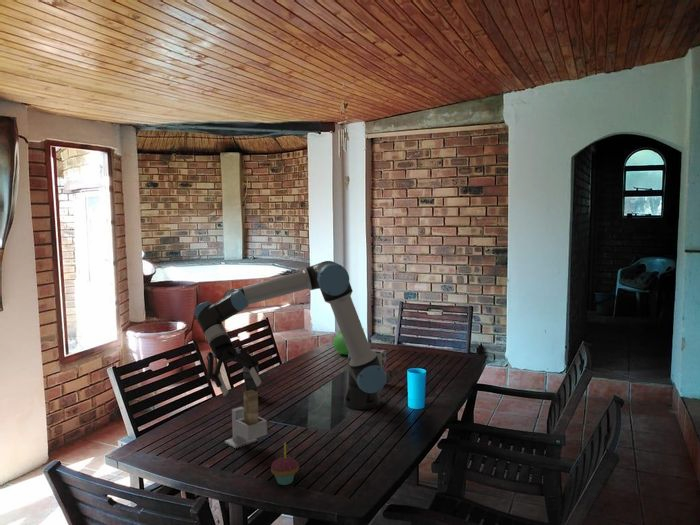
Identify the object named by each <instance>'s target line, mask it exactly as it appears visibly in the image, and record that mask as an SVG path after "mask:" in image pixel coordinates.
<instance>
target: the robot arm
mask: <svg viewBox="0 0 700 525" xmlns="http://www.w3.org/2000/svg"><path fill="white" fill-rule="evenodd" d="M318 289H319V290H320V292H321V295H322V297H323V300H324V303H327V304H329V305H330V307H331V310H332V312H333V315H334V317H335V321H336V323H337V325H338V328H339V330H340V331H341V333H342V336H343V339H344V341H345V344H346V346H347V349H348V352H349V354H348V355H347V362H348V363H347V366H348V367H347V371H348V374H347V376H348V386H347V388H346V392H345V395H344V399H343V400H344V406H345V407H347V408H350V409H353V410H361V411H362V410H371V408H372V409H375V408H377V407H379V406H380V403H381V402H380V401H381V400H380V398H381V397H380V395H379V393H378V392H379V391H381V390H382V389H383V388H384V387H385V386H386V384H387V382H386V381H387V372H386V373H385V370H384V369H383V368H382V367H381V364H380V362H379V359H378V356H377V354H376V352H375V351H373V350H371V349H372V348H371V346H370V344H369V341H368V339H367V336H366V333H365V331H364V330H365V329H364V328H363V325H362V323H361V320H360V318H359V314H358V313H357V310H356V306H355V304H354V302H353V299H352V293H353V292H354V291H353V288H352V286H351V283H350V275H349V273H348V271H347V269H346V268H345V267H344V266H342V265H341V264H339V263H337V262H335V261H333V260H325V261H321V262H319V263H317V264H314V265H310V266H307V267H304V269H303V270H301V271H298V272H294V273H290V274H286V275H282V276H279V277H275V278H272V279H267V280H265V281H261V282H256V283H252V284H250V285H245V286H242V287H238V288H229V289H227V290H226V291H225V292H224V294H223V296H222V298H221V299H219V300H218V301H217V302H215V303H212V302H211V301H204V302H201V303H199V304H197V305H196V307H195V308H194V311H193V312H194V315H195V317H196V321H197V323H198V325H199V327H200V329H201V332H202V333H203V336H204V337H205V339H206V341H207V343H208V344H209V348H210V350H211V351H209V352H208V353H207V355H206V360H207V372H206V374H207V375H206V379H207V381H208V380H209V381H210V380H211V381H212V382H214V384H215V387H217V388H219V389H220V391H221V394H222V396H223V397H226V396H227V395H228V393H229V390H228V387H227V386H226V383H225V382H224V380H223V376H222V375H219V374H220V372H221V369H222V365H223V364H227V363H230V362H231V363H232V362H234V363H238V364H240V365H241V366H242V367H244V366H245V367H246V368H248V369H250V371H249V372H250V374H251V376H252V378H253V380H254V382H255V384H256V386H257V387H259V386H260V385H261V384H262V380H261V378H260V376H259V375H260V372H259V373H258V371H257V369H256V367H257V366H259V364H260V363H259V361H258V360H256V358H255V357H253V356H252V355H251V354H250V353H249V352H248V351H246V350H245V349H244V347H243V346H242V345H239V346H238V347H236V348H235V347H234V346H233V342H232V340H231V337H230V336H229V335H228V332H227V330H226V328H225V326H224V324H223V322H225V321H226V320H228V319H230V318H232V317H233V316H235V315H236V314H237V315H238V313H240V312H243V310H245V309H246V308H248V307H249V305H252V304H256V303H260V302H264V301H267V300H270V299H271V300H272V299H275V298H278V297H281V296H282V297H283V296H286V295H290V294H293V293H297V292H301V291H304V290H310V291H313V290H318ZM363 329H364V330H363ZM247 352H248V353H249V354H248V353H247ZM214 358H215V359H216V360H217V363H216V367H215V369H214V361H215V360H214ZM385 383H386V384H385Z"/></svg>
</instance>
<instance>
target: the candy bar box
mask: <svg viewBox="0 0 700 525" xmlns="http://www.w3.org/2000/svg"><path fill="white" fill-rule="evenodd" d="M370 349H371V350H373V351H375V352H376V354H377V356H378V359H379V362H380V364H381V367H382V368H383V369H384V370H385V373H386V374H387V350H386V349H375V348H370ZM385 385H387V380H386V383H385Z"/></svg>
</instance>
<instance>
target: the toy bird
mask: <svg viewBox="0 0 700 525" xmlns="http://www.w3.org/2000/svg"><path fill="white" fill-rule="evenodd" d="M363 330H365V328H363ZM332 344H333V347H334V349H335V351H337V353H339V354H341V355H345V356H348V354H349V352H348V349H347V346H346V344H345V341H344V339H343V336H342V333H341V331H340V329H339V330H337V334H336V335H334V339H333V343H332Z"/></svg>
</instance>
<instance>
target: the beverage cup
mask: <svg viewBox="0 0 700 525" xmlns="http://www.w3.org/2000/svg"><path fill="white" fill-rule="evenodd" d="M246 352H247V353H248V354H250V353H249V351H246ZM242 367H243V368H242V371H241V372H242V374H243V381H244V389H245V391H244V392H246V391H250V390H254V391H256V392H258V386H256V384H255V382H254V380H253V378H252V376H251V374H250V372H249V371H250V369H248V368H246V367H245V366H242ZM256 369H257V371H258V373H259V374H260V369H259V365H257V367H256Z"/></svg>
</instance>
